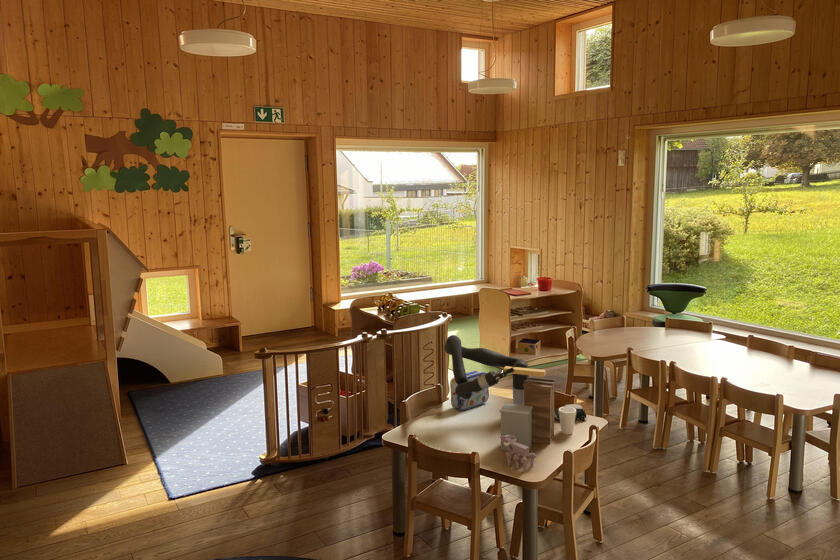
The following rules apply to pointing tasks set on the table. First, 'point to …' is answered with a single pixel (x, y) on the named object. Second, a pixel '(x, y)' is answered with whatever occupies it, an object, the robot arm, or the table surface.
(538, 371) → the slat
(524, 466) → the toy sheep
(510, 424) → the grey upright carton
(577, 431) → the table surface
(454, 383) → the lunch box
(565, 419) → the foam cup
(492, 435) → the table surface
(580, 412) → the miniature car
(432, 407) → the table surface
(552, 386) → the cabinet
